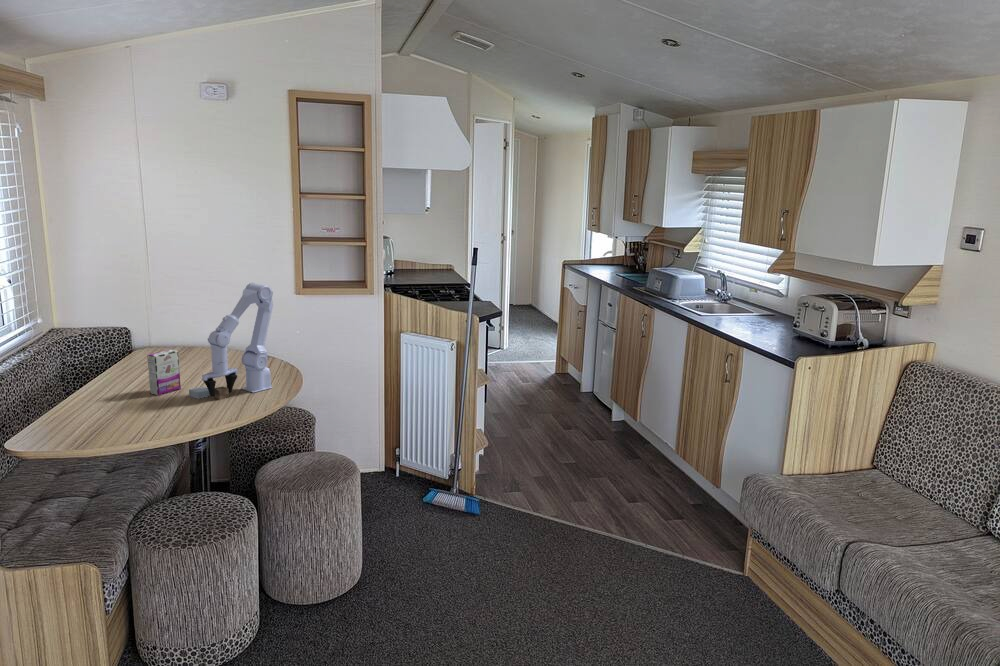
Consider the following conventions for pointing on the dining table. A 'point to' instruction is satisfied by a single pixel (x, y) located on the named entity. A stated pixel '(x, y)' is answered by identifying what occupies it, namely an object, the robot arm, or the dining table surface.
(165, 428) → the dining table surface
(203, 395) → the base block
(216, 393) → the walnut cube
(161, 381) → the candy bar box
